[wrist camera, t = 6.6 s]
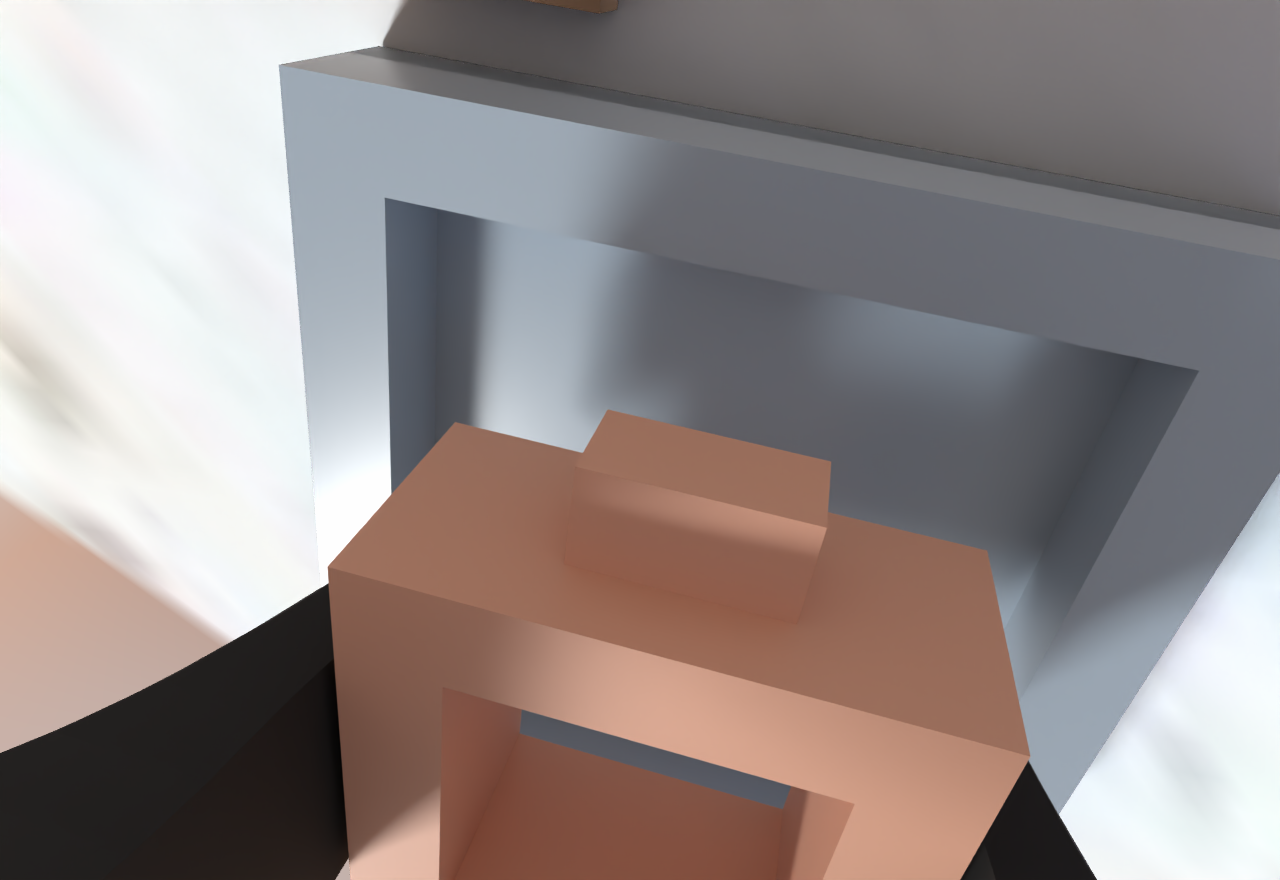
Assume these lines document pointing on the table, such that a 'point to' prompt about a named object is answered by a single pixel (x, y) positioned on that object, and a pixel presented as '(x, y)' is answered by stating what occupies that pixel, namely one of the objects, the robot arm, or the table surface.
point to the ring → (661, 669)
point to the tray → (795, 343)
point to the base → (583, 4)
